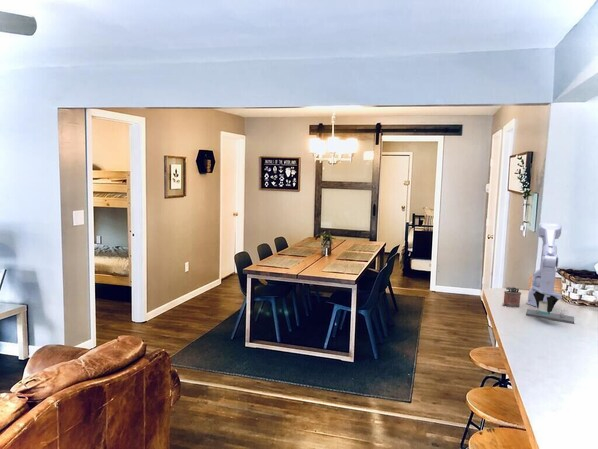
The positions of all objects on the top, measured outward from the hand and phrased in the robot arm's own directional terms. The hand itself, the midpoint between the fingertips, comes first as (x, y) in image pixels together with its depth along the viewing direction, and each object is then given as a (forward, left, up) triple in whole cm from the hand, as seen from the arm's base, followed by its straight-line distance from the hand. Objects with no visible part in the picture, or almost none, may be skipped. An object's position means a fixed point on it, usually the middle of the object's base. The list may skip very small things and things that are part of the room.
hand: (544, 310), depth 216 cm
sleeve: (0, 0, -1) cm, 1 cm away
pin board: (-3, +8, -5) cm, 10 cm away
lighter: (-22, +4, -5) cm, 23 cm away
